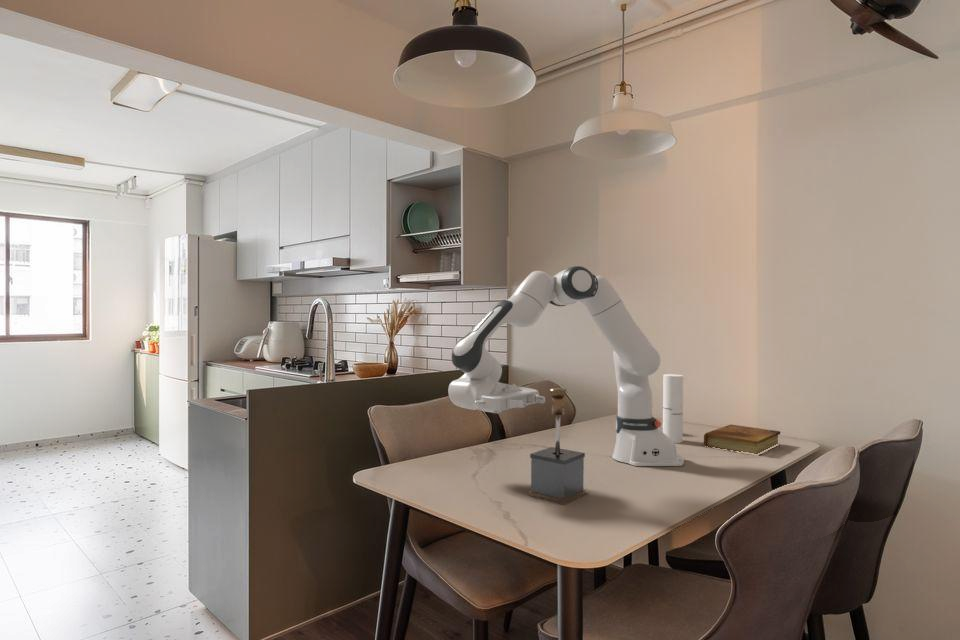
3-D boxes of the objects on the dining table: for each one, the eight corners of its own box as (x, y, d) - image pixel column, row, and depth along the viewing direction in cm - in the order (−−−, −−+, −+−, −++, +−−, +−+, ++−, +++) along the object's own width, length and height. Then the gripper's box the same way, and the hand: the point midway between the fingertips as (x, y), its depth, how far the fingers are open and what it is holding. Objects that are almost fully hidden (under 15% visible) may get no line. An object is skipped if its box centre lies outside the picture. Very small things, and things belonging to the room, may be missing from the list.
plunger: (552, 455, 157) (553, 386, 156) (578, 460, 152) (579, 389, 151) (536, 461, 150) (537, 389, 150) (562, 466, 145) (563, 392, 145)
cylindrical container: (666, 438, 220) (666, 373, 220) (684, 440, 216) (685, 375, 216) (660, 441, 215) (660, 375, 214) (679, 444, 210) (680, 376, 210)
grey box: (550, 485, 159) (551, 446, 159) (585, 494, 152) (586, 453, 152) (528, 495, 150) (528, 454, 150) (564, 504, 143) (564, 461, 143)
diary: (728, 438, 223) (728, 424, 223) (780, 447, 210) (780, 431, 210) (703, 447, 207) (703, 432, 207) (757, 457, 194) (758, 440, 194)
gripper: (471, 390, 157) (511, 395, 148) (515, 383, 172) (554, 387, 163) (471, 413, 157) (511, 419, 148) (515, 403, 172) (553, 408, 164)
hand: (534, 402), depth 156 cm, fingers open, 8 cm apart
